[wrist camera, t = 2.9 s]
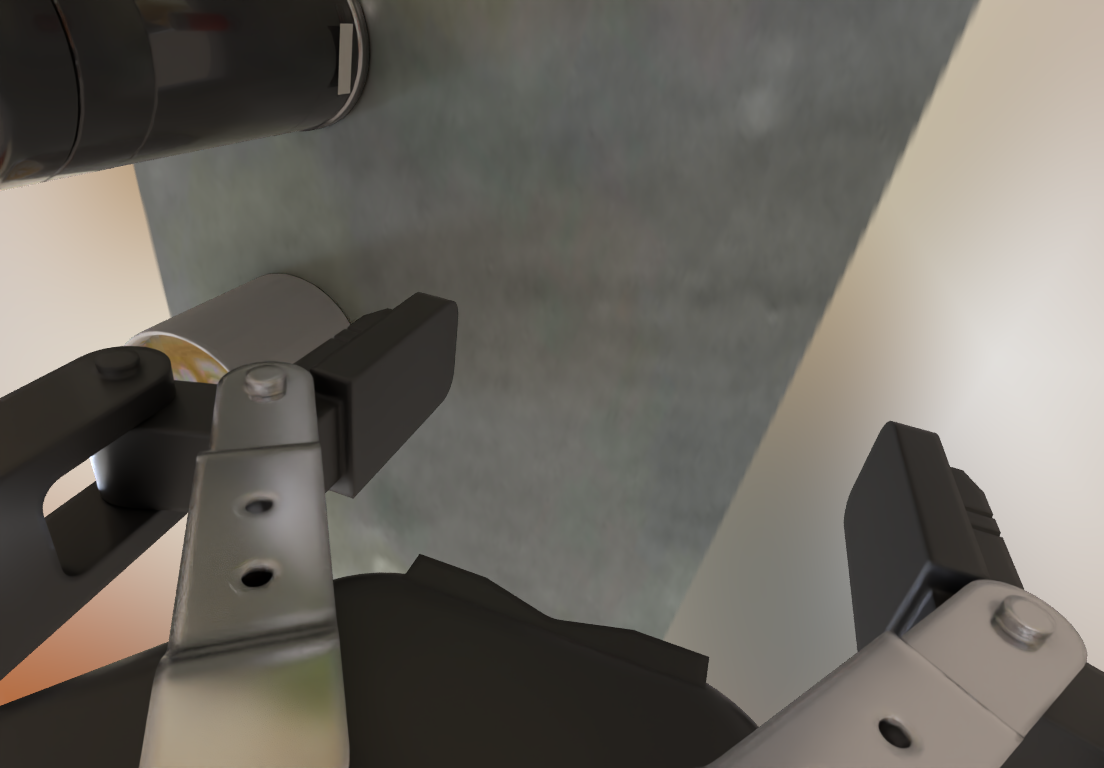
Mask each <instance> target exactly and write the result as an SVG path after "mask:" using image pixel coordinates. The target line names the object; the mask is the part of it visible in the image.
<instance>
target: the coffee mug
mask: <svg viewBox="0 0 1104 768" xmlns="http://www.w3.org/2000/svg"><path fill="white" fill-rule="evenodd" d="M349 325H350V323H349V322H348V320H347V318H346V317H345V315H344V314H343V312H342V311H341V310H340V308H339V307H338V306H337V305H336V304H335V303H334V302H333V301H332V299H331V298H330V297H329V296H327V295H326V294H325V293H324V292H323V291H321V290H320V289H319V288H317V287H316V286H315V285H313V284H311V283H309V282H307V281H305V280H303V279H301V278H298V277H295V276H291V275H287V274H267V275H263V276H261V277H258V278H256V279H254V280H252V281H250V282H248V283H245V284H243V285H241V286H239V287H237V288H235V289H232V290H230V291H228V292H226V293H224V294H222V295H220V296H217V297H215V298H213V299H211V300H209V301H207V302H204V303H202V304H200V305H198V306H196V307H194V308H192V309H189V310H187V311H185V312H183V313H181V314H179V315H176V316H174V317H172V318H170V319H168V320H166V321H164V322H161V323H159V324H157V325H155V326H153V327H151V328H149V329H147V330H144V331H142V332H141V333H139V334H137V335H135V336H134V337H132V338H131V339H130V340H129V341H128V342H127V343H126V344H125V345H124V346H141V347H148V348H153V349H156V350H159V351H161V352H163V353H165V354H166V355H167V356H168V357H169V358H170V361H171V366H172V371H173V377H174V380H180V381H190V382H201V383H211V384H218V382H219V380H220V379H221V377H223V376H224V375H225V374H226V373H227V372H229V371H231V370H233V369H235V368H237V367H240V366H242V365H246V364H250V363H255V362H263V361H279V362H286V363H291V364H293V363H295V362H296V361H298V360H299V359H301V358H302V357H304V356H305V355H307V354H308V353H310V352H311V351H313V350H314V349H316V348H317V347H318V346H320V345H321V344H323V343H324V342H326V341H327V340H329V339H330V338H333V339H334V336H335V335H336V334H338V333H339V332H340V331H342V330H343V329H347V328H348V326H349Z"/></svg>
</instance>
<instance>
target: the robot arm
mask: <svg viewBox="0 0 1104 768" xmlns="http://www.w3.org/2000/svg"><path fill="white" fill-rule="evenodd" d="M368 65H369V41H368V33H367V27H366V23H365V19H364V15H363V12H362V9H361V6H360V3H359V1H358V0H0V191H3V190H8V189H12V188H18V187H23V186H28V185H33V184H36V183H40V182H46V181H51V180H56V179H61V178H66V177H71V176H76V175H81V174H86V173H91V172H96V171H100V170H105V169H111V168H114V167H119V166H123V165H128V164H134V163H139V162H144V161H149V160H154V159H159V158H164V157H169V156H174V155H179V154H184V153H189V152H194V151H199V150H204V149H209V148H214V147H219V146H224V145H229V144H234V143H239V142H244V141H249V140H254V139H259V138H264V137H269V136H275V135H280V134H285V133H290V132H295V131H310V130H315V129H320V128H324V127H327V126H330V125H332V124H334V123H336V122H338V121H339V120H341V119H342V118H343V117H345V116H346V115H347V114H348V113H349V112H350V110H351V109H352V108H353V107H354V105H355V104H356V102H357V101H358V99H359V97H360V95H361V93H362V90H363V88H364V84H365V81H366V77H367V72H368ZM457 325H458V307H457V304H456V302H454V301H451V300H447V299H444V298H440V297H436V296H433V295H429V294H425V293H422V292H417V293H415V294H414V295H412V296H411V297H410V298H408V299H407V300H405V301H404V302H403V303H401V304H400V305H398V306H397V307H396V308H394V309H393V310H392V309H388V308H387V309H384V310H381V311H377V312H374V313H371V314H367V315H364V316H363V317H361V318H360V319H358V320H357V321H355V322H354V323H352V324H351V325H349V326H348V328H347V329H343V330H342V331H340V332H339V333H338V334H336V335H335V336H334V339H333V338H330V339H329V340H327V341H326V342H324V343H323V344H321V345H320V346H318V347H317V348H316V349H314V350H313V351H311V352H310V353H308V354H307V355H305V356H304V357H302V358H301V359H299V360H298V361H296V362H295V363H293V364H291V363H286V362H279V361H263V362H255V363H250V364H246V365H242V366H240V367H237V368H235V369H233V370H231V371H229V372H227V373H226V374H225V375H224V376H223V377H221V379H220V380H219V382H218V384H211V383H201V382H190V381H180V380H174V377H173V371H172V366H171V361H170V358H169V357H168V356H167V355H166V354H165V353H163V352H161V351H159V350H156V349H153V348H148V347H141V346H120V347H112V348H106V349H102V350H98V351H94V352H92V353H88V354H86V355H84V356H82V357H80V358H77V359H76V360H74V361H72V362H70V363H68V364H66V365H64V366H62V367H60V368H58V369H56V370H54V371H52V372H50V373H48V374H46V375H45V376H43V377H40V378H39V379H37V380H35V381H33V382H31V383H29V384H27V385H25V386H23V387H21V388H19V389H17V390H15V391H13V392H11V393H9V394H7V395H5V396H4V397H1V398H0V680H2V679H3V678H4V677H5V676H6V675H7V674H8V673H9V672H10V671H11V670H12V669H14V668H15V667H16V666H17V665H18V664H19V663H20V662H22V661H23V660H24V659H25V658H26V657H27V656H28V655H29V654H31V653H32V652H33V651H34V650H35V649H36V648H37V647H38V646H40V645H41V644H42V643H43V642H44V641H45V640H46V639H47V638H48V637H50V636H51V635H52V634H53V633H54V632H55V631H56V630H57V629H59V628H60V627H61V626H62V625H63V624H64V623H65V622H66V621H67V620H68V619H70V618H71V617H72V616H73V615H74V614H75V613H76V612H78V611H79V610H80V609H81V608H82V607H83V606H84V605H85V604H87V603H88V602H89V601H90V600H91V599H92V598H93V597H94V596H95V595H97V594H98V593H99V592H100V591H101V590H102V589H103V588H104V587H106V586H107V585H108V584H109V583H110V582H111V581H112V580H113V579H114V578H116V577H117V576H118V575H119V574H120V573H121V572H122V571H123V570H125V569H126V568H127V567H128V566H129V565H130V564H131V563H132V562H133V561H134V560H136V559H137V558H138V557H139V556H140V555H141V554H142V553H144V552H145V551H146V550H147V549H148V548H149V547H150V546H151V545H153V544H154V543H155V542H156V541H157V540H158V539H159V538H160V537H161V536H163V535H164V534H165V533H166V532H167V531H168V530H169V529H170V528H172V527H173V526H174V525H175V524H176V523H177V522H178V521H179V520H180V519H182V518H183V517H184V516H185V515H186V514H187V513H188V517H187V524H186V531H185V537H184V544H183V550H182V558H181V564H180V570H179V577H178V584H177V590H176V597H175V604H174V610H173V617H172V623H171V630H170V637H169V642H167V643H164V644H161V645H159V646H156V647H153V648H151V649H148V650H145V651H143V652H140V653H138V654H135V655H132V656H130V657H127V658H125V659H122V660H119V661H117V662H114V663H112V664H109V665H106V666H104V667H101V668H98V669H96V670H93V671H91V672H88V673H85V674H83V675H80V676H77V677H75V678H72V679H70V680H67V681H64V682H62V683H59V684H56V685H54V686H51V687H49V688H46V689H43V690H41V691H38V692H35V693H33V694H30V695H28V696H25V697H22V698H20V699H17V700H15V701H12V702H9V703H7V704H4V705H1V706H0V768H1104V672H1103V671H1101V670H1099V669H1097V668H1095V667H1094V666H1092V665H1090V664H1089V663H1087V662H1086V661H1087V651H1086V647H1085V645H1084V642H1083V640H1082V639H1081V637H1080V635H1079V634H1078V632H1077V631H1076V630H1075V628H1074V627H1073V626H1072V625H1071V624H1070V623H1069V622H1068V621H1067V620H1066V619H1065V618H1064V617H1063V616H1062V615H1061V614H1060V613H1059V612H1058V611H1056V610H1055V609H1054V608H1053V607H1051V606H1050V605H1049V604H1047V603H1046V602H1044V601H1043V600H1041V599H1039V598H1038V597H1036V596H1035V595H1033V594H1031V593H1029V592H1027V591H1025V590H1024V588H1023V585H1022V583H1021V581H1020V578H1019V576H1018V574H1017V571H1016V569H1015V566H1014V564H1013V561H1012V559H1011V557H1010V554H1009V552H1008V549H1007V547H1006V545H1005V542H1004V540H1003V538H1002V537H1000V533H1001V532H1000V530H999V528H998V526H997V523H996V520H995V519H993V518H992V516H993V513H992V511H991V509H990V506H989V504H988V501H987V499H986V496H985V494H984V492H983V491H982V490H981V489H980V488H979V487H978V486H977V485H976V484H975V483H974V482H973V481H972V480H971V479H970V478H969V476H968V475H967V474H966V473H965V472H964V471H963V470H959V469H956V468H953V467H950V465H949V463H948V460H947V457H946V454H945V452H944V449H943V446H942V443H941V441H940V438H939V436H938V435H937V434H936V433H933V432H930V431H926V430H922V429H919V428H915V427H911V426H908V425H904V424H900V423H897V422H893V421H889V422H887V423H886V424H885V425H884V427H883V428H882V429H881V431H880V433H879V435H878V437H877V439H876V441H875V443H874V445H873V447H872V449H871V451H870V453H869V455H868V457H867V459H866V461H865V464H864V466H863V468H862V470H861V472H860V474H859V476H858V478H857V480H856V482H855V484H854V486H853V488H852V490H851V493H850V495H849V498H848V501H847V505H846V509H845V515H844V530H845V539H846V548H847V558H848V566H849V576H850V586H851V595H852V604H853V613H854V622H855V631H856V641H857V650H858V652H857V653H856V654H855V655H853V656H852V657H851V658H849V659H848V660H847V661H846V662H844V663H843V664H842V665H840V666H839V667H838V668H836V669H835V670H834V671H832V672H831V673H830V674H828V675H827V676H826V677H824V678H823V679H822V680H821V681H820V682H818V683H817V684H815V685H814V686H813V687H811V688H810V689H809V690H808V691H806V692H805V693H803V694H802V695H801V696H799V697H798V698H797V699H796V700H794V701H793V702H792V703H790V704H789V705H788V706H786V707H785V708H784V709H782V710H781V711H780V712H778V713H777V714H776V715H775V716H773V717H772V718H771V719H769V720H768V721H767V722H765V723H764V724H763V725H762V726H760V727H758V726H757V724H756V723H755V722H754V721H753V720H752V719H751V718H750V717H749V716H748V715H747V714H746V713H745V712H743V710H741V709H740V708H739V707H738V706H737V705H736V704H735V703H733V702H732V701H731V700H730V699H728V698H727V697H726V696H724V695H723V694H722V693H720V692H719V691H718V690H716V689H715V688H713V687H712V686H710V685H709V684H707V683H706V677H707V670H708V662H709V657H708V656H705V655H702V654H699V653H696V652H694V651H691V650H688V649H685V648H682V647H680V646H677V645H674V644H671V643H668V642H666V641H663V640H660V639H657V638H654V637H652V636H649V635H646V634H643V633H640V632H637V631H635V630H630V629H622V628H615V627H608V626H600V625H593V624H586V623H578V622H571V621H563V620H557V619H554V618H551V617H548V616H547V615H545V614H543V613H541V612H540V611H538V610H537V609H535V608H534V607H532V606H530V605H529V604H527V603H526V602H524V601H522V600H521V599H519V598H518V597H516V596H514V595H513V594H511V593H510V592H508V591H507V590H505V589H503V588H502V587H500V586H499V585H497V584H495V583H494V582H492V581H491V580H489V579H488V578H486V577H483V576H480V575H477V574H475V573H472V572H469V571H466V570H463V569H461V568H458V567H455V566H452V565H449V564H447V563H444V562H441V561H438V560H435V559H433V558H430V557H427V556H424V555H421V554H419V556H418V557H417V558H416V560H415V561H414V563H413V564H412V566H411V567H410V568H409V570H408V571H407V573H406V574H401V573H367V574H358V575H352V576H346V577H342V578H338V579H335V580H333V575H332V564H331V553H330V542H329V531H328V520H327V509H326V498H325V493H326V492H327V491H328V490H330V491H333V492H336V493H339V494H342V495H345V496H348V497H350V498H354V497H355V496H356V495H357V494H358V493H359V492H360V491H361V490H362V489H363V487H364V486H365V485H366V484H367V483H368V482H369V481H370V480H371V479H372V478H373V477H374V476H375V474H376V473H377V472H378V471H379V470H380V469H381V468H382V467H383V466H384V465H385V464H386V463H387V461H388V460H389V459H390V458H391V457H392V456H393V455H394V454H395V453H396V452H397V451H398V450H399V448H400V447H401V446H402V445H403V444H404V443H405V442H406V441H407V440H408V439H409V438H410V437H411V435H412V434H413V433H414V432H415V431H416V430H417V429H418V428H419V427H420V426H421V425H422V424H423V422H424V421H425V420H426V419H427V418H428V417H429V416H430V415H431V414H432V413H433V412H434V411H435V409H436V408H437V407H438V406H439V405H440V404H441V403H442V402H443V401H444V399H445V398H446V396H447V394H448V392H449V389H450V387H451V383H452V380H453V375H454V365H455V351H456V338H457ZM88 458H90V461H91V464H92V468H93V471H94V474H95V479H96V481H95V482H94V483H92V484H91V485H89V486H88V487H87V488H85V489H84V490H83V491H81V492H80V493H78V494H77V495H76V496H74V497H73V498H71V499H70V500H68V501H67V502H66V503H64V504H63V505H61V506H60V507H59V508H57V509H56V510H55V511H53V512H52V513H51V514H49V515H48V516H46V517H45V518H44V515H43V502H44V498H45V496H46V494H47V492H48V490H49V489H50V487H51V486H52V485H53V484H54V483H55V482H56V481H57V480H58V479H59V478H60V477H62V476H63V475H64V474H66V473H68V472H69V471H71V470H72V469H74V468H75V467H76V466H78V465H79V464H81V463H82V462H84V461H86V460H87V459H88Z"/></svg>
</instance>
